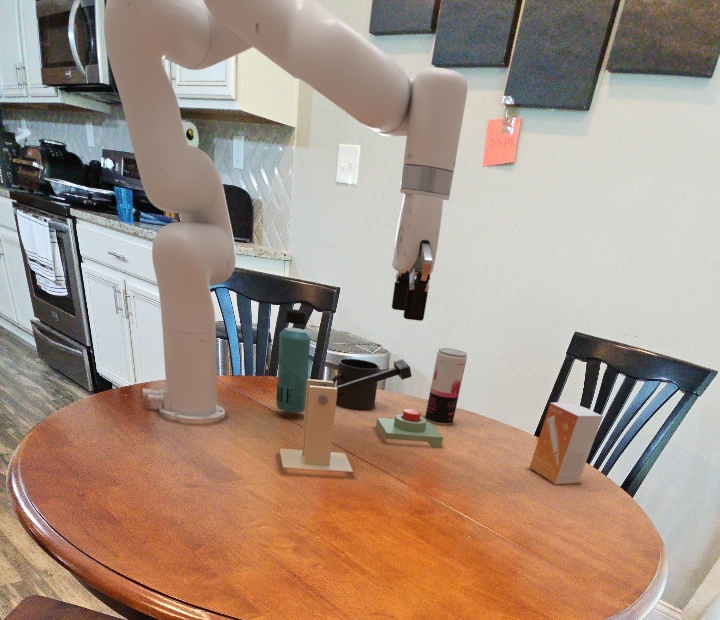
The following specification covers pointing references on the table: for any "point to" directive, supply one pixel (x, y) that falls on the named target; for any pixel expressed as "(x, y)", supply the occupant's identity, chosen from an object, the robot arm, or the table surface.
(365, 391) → the mug
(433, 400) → the beverage can
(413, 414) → the button
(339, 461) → the bracket
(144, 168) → the robot arm
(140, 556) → the table surface
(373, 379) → the lever
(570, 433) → the small box
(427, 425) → the control block
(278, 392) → the beverage bottle
